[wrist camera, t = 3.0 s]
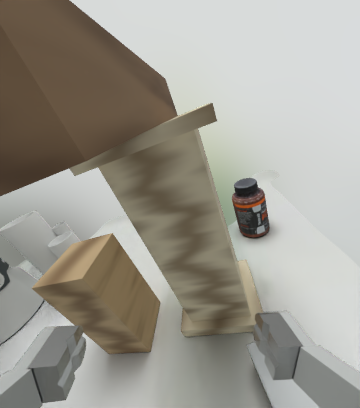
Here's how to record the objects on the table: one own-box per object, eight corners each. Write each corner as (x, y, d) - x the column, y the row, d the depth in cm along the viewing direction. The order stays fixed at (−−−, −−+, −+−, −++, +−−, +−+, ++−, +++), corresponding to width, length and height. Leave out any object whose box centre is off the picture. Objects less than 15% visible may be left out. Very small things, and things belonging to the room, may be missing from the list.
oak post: (109, 353, 26) (31, 288, 19) (125, 306, 32) (72, 243, 25) (150, 351, 24) (82, 278, 17) (160, 302, 30) (112, 233, 23)
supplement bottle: (272, 237, 33) (264, 186, 28) (240, 240, 36) (228, 193, 31) (267, 218, 38) (260, 172, 33) (239, 222, 40) (228, 179, 35)
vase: (61, 302, 39) (-13, 236, 30) (76, 276, 45) (19, 215, 37) (105, 288, 38) (41, 215, 29) (114, 263, 44) (64, 197, 35)
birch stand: (184, 336, 24) (66, 163, 13) (188, 275, 33) (119, 140, 21) (268, 330, 21) (212, 102, 10) (248, 265, 30) (205, 104, 19)
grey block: (285, 439, 15) (280, 423, 13) (254, 365, 19) (246, 345, 17) (340, 418, 15) (345, 399, 12) (296, 349, 19) (293, 326, 17)
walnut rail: (-27, 206, 5) (-219, 26, 3) (148, 128, 22) (134, 93, 20) (85, 161, 4) (-104, -141, 2) (177, 115, 21) (165, 78, 19)
